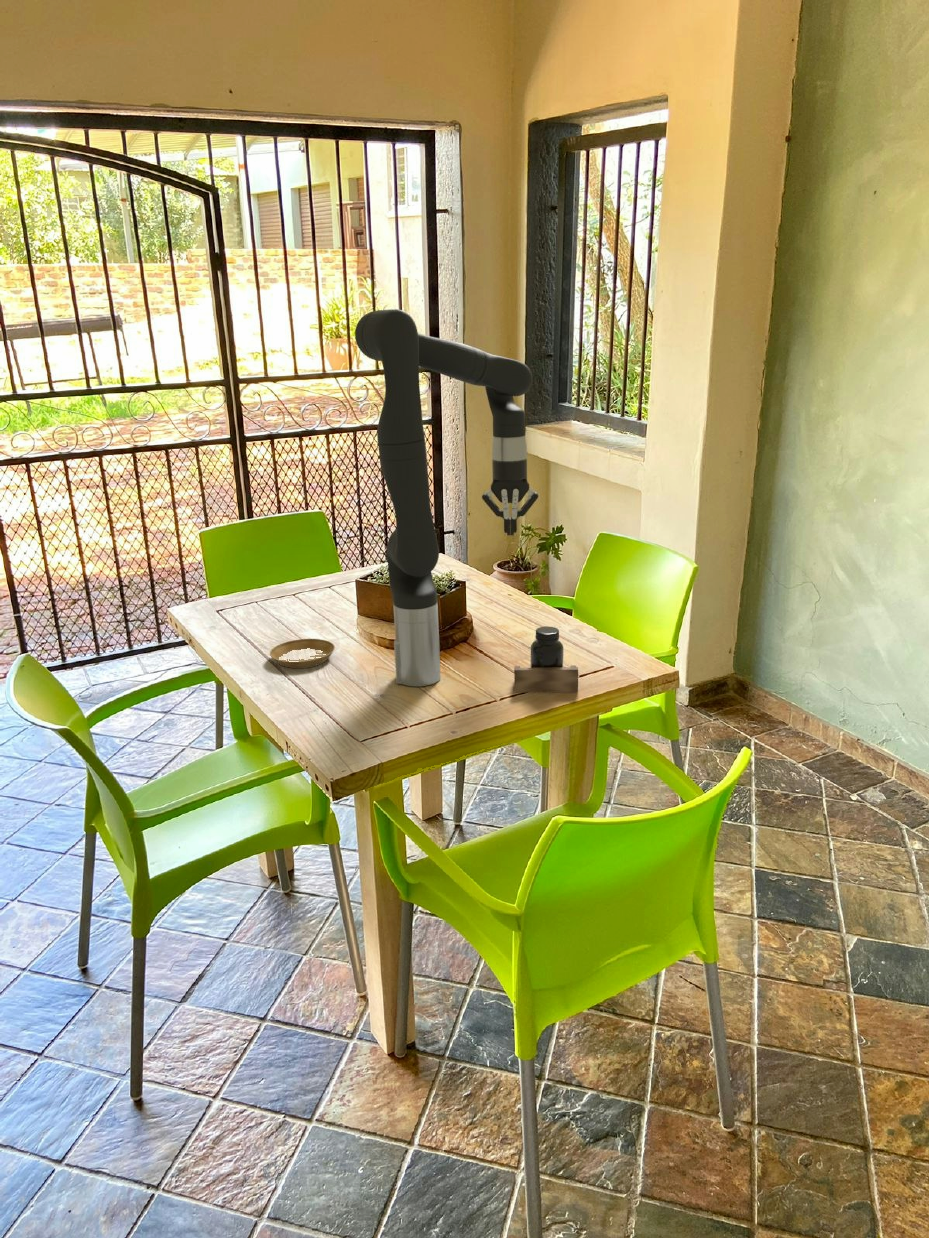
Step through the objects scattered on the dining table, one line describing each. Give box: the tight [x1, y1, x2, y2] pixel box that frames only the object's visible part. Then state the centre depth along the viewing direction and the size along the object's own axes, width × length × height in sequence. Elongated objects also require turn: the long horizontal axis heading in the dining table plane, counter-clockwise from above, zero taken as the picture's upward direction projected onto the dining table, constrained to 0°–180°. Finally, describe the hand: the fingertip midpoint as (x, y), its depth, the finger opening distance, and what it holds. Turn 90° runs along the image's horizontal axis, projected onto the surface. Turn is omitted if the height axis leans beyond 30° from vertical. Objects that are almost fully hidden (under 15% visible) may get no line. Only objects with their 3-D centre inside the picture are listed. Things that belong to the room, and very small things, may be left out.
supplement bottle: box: [529, 626, 564, 668], centre depth 186 cm, size 7×7×12 cm
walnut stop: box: [513, 665, 579, 693], centre depth 186 cm, size 13×6×5 cm, turn 87°
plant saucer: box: [269, 638, 336, 669], centre depth 205 cm, size 15×15×3 cm
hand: (510, 534), depth 200 cm, fingers closed
